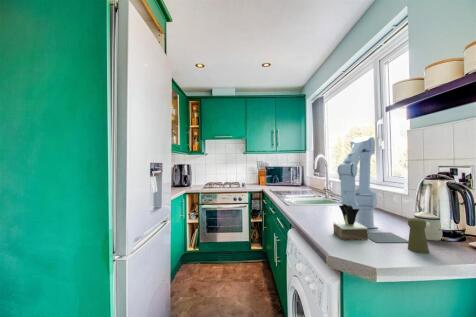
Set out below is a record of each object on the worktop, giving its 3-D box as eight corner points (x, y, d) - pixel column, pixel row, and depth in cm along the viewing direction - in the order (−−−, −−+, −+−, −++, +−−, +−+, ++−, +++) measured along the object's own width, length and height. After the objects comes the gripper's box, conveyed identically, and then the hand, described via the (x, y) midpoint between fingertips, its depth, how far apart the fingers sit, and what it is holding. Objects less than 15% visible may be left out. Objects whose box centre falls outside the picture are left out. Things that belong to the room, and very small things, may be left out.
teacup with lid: (415, 233, 102) (413, 206, 103) (442, 236, 97) (441, 208, 97) (414, 240, 93) (413, 210, 93) (445, 244, 87) (443, 213, 88)
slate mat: (360, 233, 104) (360, 232, 104) (391, 233, 103) (390, 232, 103) (376, 242, 91) (376, 242, 91) (411, 242, 90) (411, 242, 90)
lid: (333, 225, 105) (333, 212, 105) (356, 224, 104) (355, 212, 105) (342, 231, 95) (341, 217, 95) (367, 231, 94) (366, 217, 95)
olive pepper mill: (433, 253, 79) (431, 220, 79) (413, 252, 80) (411, 220, 81) (422, 247, 85) (421, 216, 85) (404, 246, 86) (402, 216, 86)
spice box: (333, 233, 105) (333, 224, 105) (356, 233, 104) (356, 223, 104) (342, 240, 95) (341, 230, 95) (367, 240, 94) (367, 230, 94)
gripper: (332, 189, 108) (333, 219, 107) (345, 193, 93) (346, 227, 93) (348, 189, 107) (349, 219, 107) (363, 193, 93) (364, 227, 92)
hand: (349, 223), depth 100 cm, fingers closed on lid, 3 cm apart
